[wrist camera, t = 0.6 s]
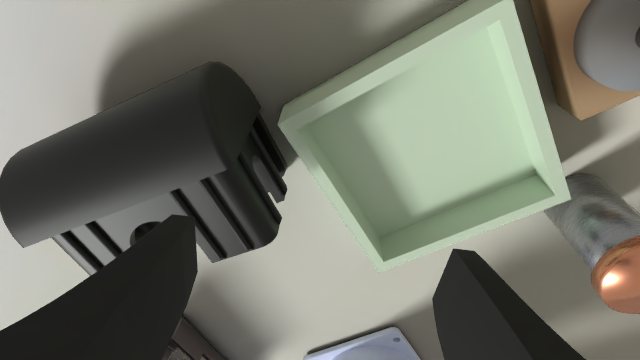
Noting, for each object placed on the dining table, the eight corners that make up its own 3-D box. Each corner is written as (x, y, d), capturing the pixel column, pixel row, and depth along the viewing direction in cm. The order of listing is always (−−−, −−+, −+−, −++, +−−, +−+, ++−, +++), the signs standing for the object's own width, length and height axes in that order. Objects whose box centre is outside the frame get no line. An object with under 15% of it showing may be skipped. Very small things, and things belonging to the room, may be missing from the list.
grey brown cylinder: (617, 209, 21) (711, 295, 16) (544, 236, 22) (610, 323, 17) (605, 155, 20) (706, 230, 14) (527, 186, 21) (594, 267, 15)
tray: (546, 172, 20) (571, 199, 18) (374, 243, 23) (378, 272, 21) (487, -11, 16) (511, -5, 14) (283, 104, 19) (277, 124, 17)
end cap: (232, 41, 17) (182, 86, 12) (298, 166, 21) (284, 250, 15) (66, 119, 20) (-45, 190, 14) (149, 220, 23) (87, 312, 17)
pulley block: (675, 51, 17) (751, 74, 14) (558, 104, 18) (603, 136, 15) (660, -91, 14) (750, -102, 11) (525, -16, 16) (572, -8, 13)
